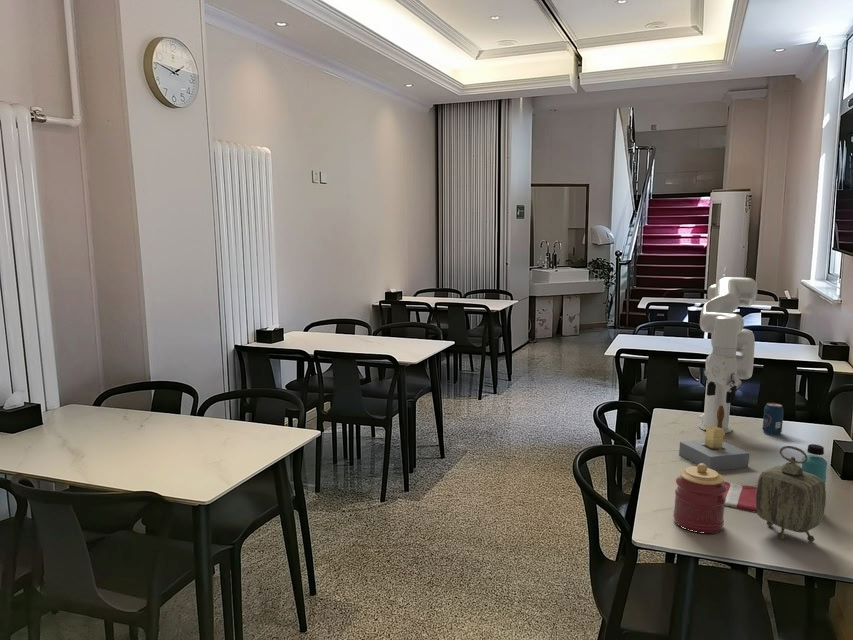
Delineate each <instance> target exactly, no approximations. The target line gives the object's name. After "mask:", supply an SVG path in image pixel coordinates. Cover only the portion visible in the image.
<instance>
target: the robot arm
mask: <svg viewBox="0 0 853 640" xmlns="http://www.w3.org/2000/svg"><path fill="white" fill-rule="evenodd" d="M757 295H758V284H757V282H756V280H755V279H753V278H751V277H734V276H727V277H722V278H720V279H719V280H717V281H716V283H714V284H712V285H710V286H709V287H708V289H707V301H706V302H705V303H704V305H703V306H702V307H701V310H700V311H701V312H700V316H699V317H700V318H699V327H700V330H701V331H702V332H704V333H708V334H709V333H710V334H711V336H710V337H711V338H710V341H711V342H710V343H711V347H712V352H711V353H710V354H709V355H708V356H706V359H705V370H704V372H703V374H704V379H705V380H706V382H705V383H706V384H705V396H704V397H705V398H704V408H703V409H704V411H703V413H702V414H701V415H699V416H698V419H700V420H701V422H700V423H699V424H698V428H700V429H701V430H703V431H705V430H706V427H710V426H717V424H718V420H717V411H718V408H719V406H720V405H722V406H723V408H724V418H723V421H722V429H724V431H723V432H724V433H725V434H728V433H727V432H730V433H732V432H733V427H732V426H731V425H729V422H730V421H729V420H730V412H731V411H730V409H731V404H733V403H735V401H736V393H737V392H738V390H739V389H740V386H741V385H742V380H748V379H750V378H752V375H753V372H754V360H755V345H756V343H755V335H754V333H753V331H752V330H750V329H747V328H744V326H745V321H744V319H743V316H742V315H740V314H738V313H735V311H736V310H737V309H738V308H739V307H740V306H741V307H751V306H753V305H754V303H755V301H756V298H757ZM737 353H739V354H737ZM740 354H741V355H740ZM731 431H732V432H731Z"/></svg>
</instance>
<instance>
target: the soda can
mask: <svg viewBox="0 0 853 640" xmlns="http://www.w3.org/2000/svg"><path fill="white" fill-rule="evenodd" d="M765 404H766V405H765V406H764V408H763V418H762V419H763V421H762V431H763V433H764V434H766V435H769V434H770V435H771V436H779V435H781V433H782V432H783V423H784V422H783V421H784V412H785V411H784V407H783V404H781V403H776V402H767V403H765Z"/></svg>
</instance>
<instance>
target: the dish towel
mask: <svg viewBox="0 0 853 640" xmlns="http://www.w3.org/2000/svg"><path fill="white" fill-rule="evenodd" d="M722 483H724V484H725V485H726V487H727V490H726V491H725V492H724V497H725V499H726V501H725V506H724V507H729V506H731V508H734V507H735V509H738V508H739V510H742V509H744V510H743V511H747V510H749V511H748V512H752V511H755V512H754V513H757V510H756V489H757V486H752V485H744V484H736V483H731V482H728V481H723V482H722Z"/></svg>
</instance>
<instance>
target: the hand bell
mask: <svg viewBox="0 0 853 640" xmlns="http://www.w3.org/2000/svg"><path fill="white" fill-rule="evenodd" d="M723 418H724V408H723V406H722V405H720V406H719V408H718V411H717V420H718V424H717V427H719V428H721V429H722V421H723ZM723 441H724V442H726V443H727V440H726V433H724V432H723Z"/></svg>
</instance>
